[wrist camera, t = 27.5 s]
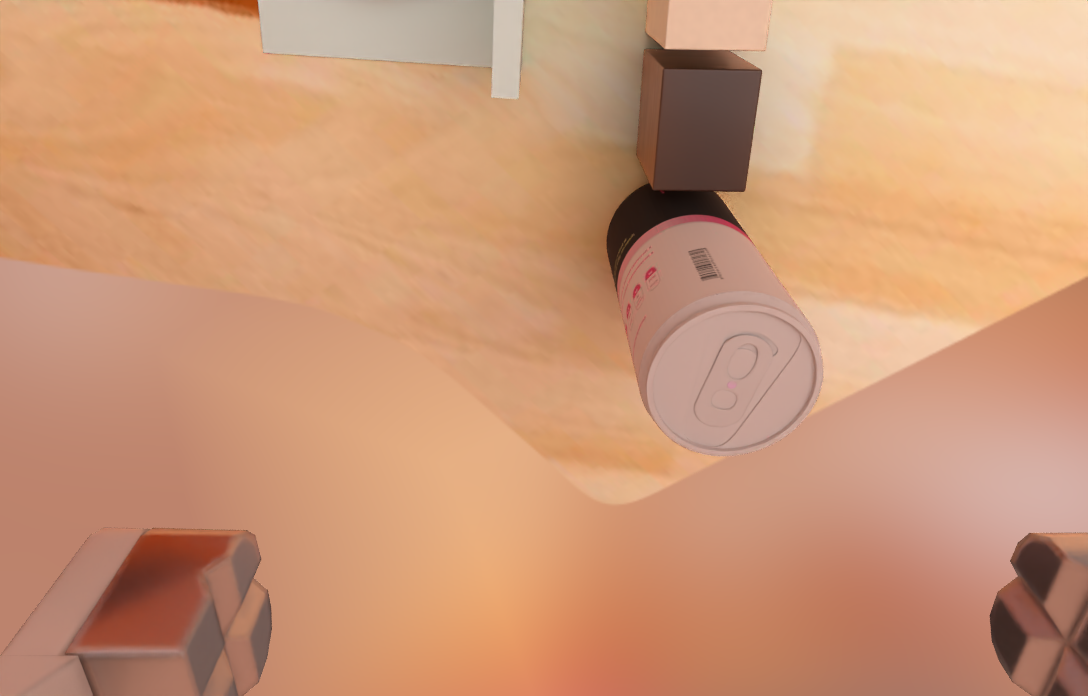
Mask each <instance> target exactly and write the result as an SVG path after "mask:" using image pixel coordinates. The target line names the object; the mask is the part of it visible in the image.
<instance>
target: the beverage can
mask: <svg viewBox="0 0 1088 696" xmlns="http://www.w3.org/2000/svg"><path fill="white" fill-rule="evenodd" d="M607 253H608V257H609V262H610V266H611V270H612V275H613V279H614V283H615V287H616V292H617V296H618V300H619V304H620V309H621V313H622V317H623V322H624V326H625V330H626V334H627V339H628V343H629V347H630V351H631V356H632V360H633V364H634V368H635V373H636V377H637V381H638V386H639V390H640V394H641V398H642V401H643V403H644V406H645V408H646V410H647V411H648V413H649V415H650V416H651V417H652V419H653V420H654V421H655V422H656V424H657V425H658V426H659V428H660V429H661V430H662V431H663V432H664V433H665V434H666V435H667V436H668V437H669V438H670V439H671V440H673V441H674V442H676V443H677V444H679V445H681V446H682V447H684V448H687V449H689V450H691V451H694V452H697V453H701V454H705V455H712V456H736V455H743V454H748V453H752V452H755V451H758V450H761V449H764V448H766V447H768V446H770V445H772V444H774V443H776V442H778V441H780V440H781V439H783V438H784V437H786V436H787V435H788V434H790V433H791V432H792V431H793V430H794V429H796V428H797V427H798V426H799V425H800V424H801V423H802V422H803V421H804V419H805V418H806V417H807V416H808V414H809V413H810V411H811V410H812V408H813V406H814V405H815V403H816V401H817V398H818V396H819V393H820V390H821V386H822V381H823V361H822V356H821V349H820V345H819V341H818V338H817V335H816V333H815V331H814V329H813V327H812V325H811V324H810V323H809V321H808V320H807V318H806V317H805V316H804V314H803V313H802V311H801V310H800V309H799V307H798V306H797V304H796V303H795V302H794V300H793V299H792V297H791V296H790V295H789V293H788V292H787V290H786V289H785V288H784V286H783V285H782V283H781V282H780V280H779V279H778V278H777V276H776V275H775V273H774V272H773V271H772V269H771V268H770V266H769V265H768V264H767V262H766V261H765V259H764V258H763V257H762V255H761V254H760V252H759V251H758V250H757V248H756V247H755V245H754V244H753V243H752V241H751V240H750V238H749V237H748V236H747V234H746V233H745V231H744V230H743V229H742V227H741V226H740V224H739V223H738V222H737V220H736V219H735V217H734V216H733V215H732V213H731V212H730V210H729V209H728V208H727V206H726V205H725V203H724V202H723V200H722V199H721V198H720V197H719V196H718V195H717V194H716V193H715V192H714V191H654V190H653V189H652V187H651V185H650V183H649V184H647V185H644V186H643V187H641V188H639V189H637V190H636V191H634V192H633V193H632V194H631V195H629V196H628V197H627V198H626V199H625V200H624V201H623V202H622V204H621V205H620V206H619V208H618V209H617V210H616V212H615V214H614V216H613V218H612V220H611V222H610V225H609V229H608V234H607Z"/></svg>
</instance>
